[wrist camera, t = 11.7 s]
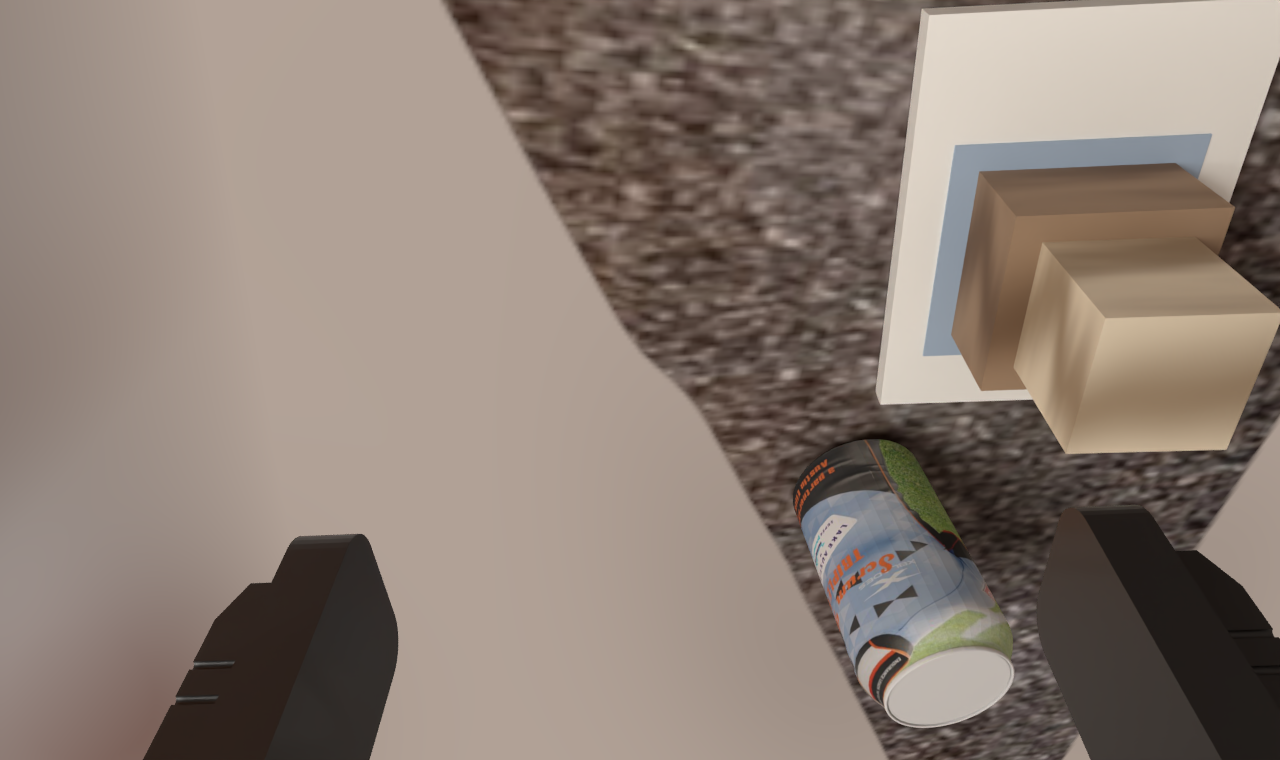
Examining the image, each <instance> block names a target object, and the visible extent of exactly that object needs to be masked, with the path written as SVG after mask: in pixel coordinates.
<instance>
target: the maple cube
mask: <svg viewBox="0 0 1280 760" xmlns="http://www.w3.org/2000/svg"><path fill="white" fill-rule="evenodd" d="M1279 324H1280V309H1279V308H1278V307H1277V306H1276V305H1275V304H1274V303H1272V302H1271V301H1270V300H1269V299H1268V298H1267V297H1265V296H1264V295H1263V294H1262V293H1261V292H1260V291H1258V290H1257V289H1256V288H1255V287H1254V286H1252V285H1251V284H1250V283H1249V282H1248V281H1247V280H1245V279H1244V278H1243V277H1242V276H1241V275H1240V274H1238V273H1237V272H1236V271H1235V270H1234V269H1233V268H1231V267H1230V266H1229V265H1228V264H1227V263H1225V262H1224V261H1223V260H1222V259H1221V258H1220V257H1218V256H1217V255H1216V254H1215V253H1214V252H1213V251H1211V250H1210V249H1209V248H1208V247H1207V246H1206V245H1204V244H1203V243H1202V242H1201V241H1200V240H1199V239H1197V238H1196V237H1181V238H1152V239H1124V240H1095V241H1066V242H1042V246H1041V251H1040V255H1039V259H1038V263H1037V268H1036V272H1035V276H1034V281H1033V285H1032V289H1031V294H1030V298H1029V302H1028V307H1027V311H1026V315H1025V319H1024V324H1023V328H1022V332H1021V337H1020V341H1019V345H1018V350H1017V354H1016V358H1015V363H1014V369H1015V371H1016V372H1017V374H1018V375H1019V377H1020V379H1021V380H1022V382H1023V384H1024V385H1025V387H1026V389H1027V390H1028V392H1029V394H1030V395H1031V397H1032V399H1033V400H1034V402H1035V403H1036V405H1037V407H1038V408H1039V410H1040V412H1041V413H1042V415H1043V417H1044V418H1045V420H1046V422H1047V423H1048V425H1049V427H1050V428H1051V430H1052V431H1053V433H1054V435H1055V436H1056V438H1057V440H1058V441H1059V443H1060V445H1061V446H1062V448H1063V450H1064V451H1065V453H1066V454H1077V453H1116V452H1154V451H1192V450H1227V447H1228V445H1229V443H1230V440H1231V438H1232V435H1233V433H1234V431H1235V428H1236V426H1237V424H1238V421H1239V419H1240V416H1241V414H1242V412H1243V409H1244V407H1245V405H1246V402H1247V400H1248V398H1249V395H1250V393H1251V390H1252V388H1253V386H1254V383H1255V381H1256V379H1257V376H1258V374H1259V371H1260V369H1261V367H1262V364H1263V362H1264V360H1265V357H1266V355H1267V353H1268V350H1269V348H1270V345H1271V343H1272V341H1273V338H1274V336H1275V334H1276V331H1277V329H1278V326H1279Z"/></svg>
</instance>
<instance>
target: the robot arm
mask: <svg viewBox="0 0 1280 760" xmlns="http://www.w3.org/2000/svg"><path fill="white" fill-rule="evenodd" d="M1036 613H1037V626H1038V632H1039V637H1040V641H1041V644H1042V648H1043V651H1044V653H1045V656H1046V658H1047V660H1048V663H1049V665H1050V667H1051V669H1052V672H1053V674H1054V676H1055V679H1056V681H1057V683H1058V686H1059V688H1060V690H1061V692H1062V695H1063V697H1064V699H1065V702H1066V704H1067V706H1068V709H1069V711H1070V713H1071V715H1072V718H1073V720H1074V722H1075V725H1076V727H1077V729H1078V731H1079V734H1080V736H1081V738H1082V741H1083V743H1084V745H1085V748H1086V750H1087V752H1088V754H1089V757H1090V759H1091V760H1280V638H1278V637H1277V638H1275V637H1274V636H1273V633H1272V630H1273V629H1272V627H1271V626H1270V624H1269V623H1268V621H1267V620H1266V619H1265V617H1264V616H1263V614H1262V613H1261V612H1260V611H1259V609H1258V607H1257V606H1256V605H1255V603H1254V602H1253V600H1252V599H1251V598H1250V596H1249V595H1248V593H1247V592H1246V591H1245V589H1244V588H1243V586H1241V585H1240V584H1239V583H1238V582H1236V581H1235V580H1234V579H1233V578H1231V577H1230V576H1229V575H1227V574H1226V573H1225V572H1223V571H1222V570H1221V569H1220V568H1218V567H1217V566H1216V565H1215V564H1214V563H1212V562H1211V561H1210V560H1208V559H1207V558H1206V557H1205V556H1203V555H1202V554H1201V553H1199V552H1198V551H1197V550H1193V551H1175V550H1174V548H1173V547H1172V545H1171V544H1170V542H1169V541H1168V539H1167V538H1166V536H1165V535H1164V533H1163V532H1162V530H1161V529H1160V527H1159V526H1158V524H1157V523H1156V521H1155V520H1154V518H1153V517H1152V515H1151V514H1150V513H1149V512H1148V511H1147V510H1146V509H1145V508H1143V507H1142V506H1139V505H1120V506H1095V507H1071V508H1067V509H1065V510H1064V511H1063V513H1062V514H1061V516H1060V519H1059V522H1058V525H1057V529H1056V533H1055V536H1054V540H1053V544H1052V547H1051V551H1050V554H1049V558H1048V562H1047V565H1046V569H1045V572H1044V576H1043V580H1042V583H1041V587H1040V590H1039V594H1038V599H1037V612H1036ZM397 655H398V629H397V622H396V618H395V614H394V612H393V609H392V606H391V603H390V600H389V597H388V594H387V592H386V589H385V586H384V583H383V580H382V577H381V574H380V571H379V568H378V565H377V562H376V560H375V556H374V554H373V551H372V548H371V545H370V543H369V541H368V539H367V538H366V537H365V536H364V535H363V534H347V535H346V534H345V535H321V536H299V537H297V538H295V539H294V540H293V541H292V542H291V544H290V545H289V547H288V549H287V551H286V553H285V555H284V557H283V559H282V561H281V564H280V565H279V568H278V570H277V572H276V574H275V576H274V579H273V580H272V583H255V584H254V583H253V584H252V583H251V584H250V585H249V586H248V587H247V588H246V589H245V590H244V591H243V592H242V593H241V594H240V595H239V596H238V597H237V598H236V599H235V600H234V601H233V602H232V603H231V604H230V605H229V606H228V607H227V608H226V609H225V610H224V611H223V612H222V613H221V614H220V615H219V616H218V617H217V618H216V619H215V621H214V623H213V624H212V626H211V628H210V630H209V633H208V634H207V636H206V638H205V640H204V642H203V644H202V646H201V648H200V650H199V652H198V654H197V656H196V658H195V659H194V668H193V670H189V671H188V673H187V675H186V677H185V679H184V681H183V683H182V685H181V687H180V689H179V691H178V693H177V695H176V703H175V705H171V706H170V708H169V710H168V712H167V714H166V716H165V718H164V720H163V722H162V724H161V726H160V728H159V730H158V732H157V734H156V735H155V737H154V739H153V741H152V743H151V745H150V747H149V749H148V751H147V753H146V755H145V757H144V759H143V760H369V759H370V756H371V752H372V749H373V745H374V742H375V738H376V735H377V732H378V728H379V724H380V721H381V718H382V714H383V710H384V707H385V704H386V700H387V696H388V693H389V690H390V686H391V683H392V679H393V676H394V672H395V668H396V663H397Z"/></svg>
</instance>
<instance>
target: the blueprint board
mask: <svg viewBox="0 0 1280 760" xmlns="http://www.w3.org/2000/svg"><path fill="white" fill-rule="evenodd" d="M1279 58H1280V0H1079V1H1060V2H1040V3H1021V4H1001V5H982V6H963V7H943V8H924V9H922V11H921V20H920V28H919V36H918V44H917V53H916V61H915V69H914V78H913V86H912V94H911V102H910V111H909V119H908V127H907V135H906V144H905V152H904V160H903V169H902V177H901V185H900V193H899V202H898V210H897V218H896V227H895V235H894V243H893V251H892V260H891V268H890V276H889V284H888V293H887V301H886V309H885V318H884V326H883V334H882V342H881V351H880V359H879V367H878V376H877V384H876V394H877V397H878V399H879V402H880V405H882V404H912V403H942V402H971V401H1001V400H1031V399H1032V397H1031V395H1030V394H1029V392H1028V390H1027V389H1025V390H995V391H981V390H980V388H979V387H978V385H977V383H976V381H975V379H974V377H973V375H972V373H971V371H970V370H969V368H968V366H967V364H966V362H965V360H964V358H963V356H962V355H961V353H960V351H959V349H958V347H957V345H956V343H955V341H954V339H953V338H952V336H951V333H952V327H953V321H954V315H955V309H956V304H957V298H958V292H959V286H960V280H961V275H962V269H963V263H964V257H965V251H966V245H967V240H968V234H969V228H970V222H971V216H972V211H973V205H974V199H975V193H976V187H977V182H978V176H979V171H1000V170H1023V169H1046V168H1068V167H1091V166H1114V165H1137V164H1159V163H1176V164H1178V165H1179V166H1180V167H1182V168H1183V169H1184V170H1186V171H1187V172H1188V173H1190V174H1191V175H1192V176H1194V177H1195V178H1196V179H1198V180H1199V181H1200V182H1202V183H1203V184H1205V185H1206V186H1207V187H1209V188H1210V189H1211V190H1213V191H1214V192H1215V193H1217V194H1218V195H1219V196H1221V197H1222V198H1223V199H1225V200H1226V201H1227V202H1230V199H1231V197H1232V194H1233V191H1234V188H1235V185H1236V182H1237V179H1238V176H1239V174H1240V171H1241V168H1242V165H1243V162H1244V159H1245V156H1246V153H1247V150H1248V148H1249V145H1250V142H1251V139H1252V136H1253V133H1254V130H1255V127H1256V124H1257V122H1258V119H1259V116H1260V113H1261V110H1262V107H1263V104H1264V101H1265V98H1266V96H1267V93H1268V90H1269V87H1270V84H1271V81H1272V78H1273V75H1274V72H1275V70H1276V67H1277V64H1278V61H1279Z"/></svg>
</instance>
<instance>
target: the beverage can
mask: <svg viewBox="0 0 1280 760" xmlns="http://www.w3.org/2000/svg"><path fill="white" fill-rule="evenodd" d="M793 505H794V509H795V512H796V515H797V518H798V520H799V523H800V526H801V528H802V531H803V534H804V536H805V539H806V542H807V544H808V547H809V550H810V552H811V555H812V558H813V561H814V563H815V566H816V569H817V571H818V574H819V577H820V579H821V582H822V585H823V587H824V590H825V593H826V595H827V598H828V601H829V603H830V606H831V609H832V611H833V614H834V617H835V620H836V622H837V625H838V628H839V630H840V633H841V636H842V638H843V641H844V644H845V646H846V649H847V652H848V654H849V657H850V660H851V662H852V665H853V668H854V671H855V673H856V676H857V679H858V681H859V683H860V685H861V686H862V688H863V690H864V691H865V692H866V693H867V694H868V695H869V696H870V697H871V698H872V699H873V700H874V701H876V702H877V703H879V704H880V705H882V706H883V707H885V710H886V712H887V714H888V715H889V716H890V717H891V718H892V719H893V720H894V721H896V722H898V723H900V724H903V725H906V726H910V727H918V728H929V727H939V726H945V725H949V724H953V723H957V722H960V721H962V720H965V719H968V718H970V717H972V716H975V715H977V714H979V713H981V712H982V711H984V710H986V709H987V708H989V707H990V706H992V705H993V704H995V703H996V702H997V701H998V700H999V699H1000V698H1001V697H1002V696H1003V695H1004V694H1005V693H1006V692H1007V691H1008V689H1009V687H1010V686H1011V684H1012V681H1013V678H1014V668H1013V665H1012V662H1011V656H1012V647H1013V637H1012V633H1011V630H1010V627H1009V624H1008V622H1007V621H1006V619H1005V617H1004V615H1003V613H1002V612H1001V610H1000V608H999V606H998V604H997V603H996V601H995V599H994V597H993V595H992V594H991V592H990V590H989V588H988V587H987V585H986V583H985V581H984V579H983V578H982V576H981V574H980V572H979V570H978V569H977V567H976V565H975V563H974V561H973V560H972V558H971V556H970V554H969V552H968V551H967V549H966V547H965V545H964V543H963V542H962V540H961V538H960V536H959V535H958V533H957V531H956V529H955V527H954V526H953V524H952V522H951V520H950V518H949V517H948V515H947V513H946V511H945V509H944V508H943V506H942V504H941V502H940V500H939V499H938V497H937V495H936V493H935V491H934V490H933V488H932V486H931V484H930V483H929V481H928V479H927V477H926V475H925V474H924V472H923V470H922V468H921V466H920V465H919V463H918V461H917V459H916V458H915V456H914V455H913V454H912V453H911V452H910V451H909V450H908V449H907V448H905V447H903V446H902V445H900V444H898V443H895V442H892V441H888V440H881V439H865V440H858V441H853V442H850V443H846V444H843V445H840V446H838V447H836V448H833V449H831V450H830V451H828V452H826V453H824V454H823V455H821V456H820V457H819V458H817V459H816V460H814V461H813V462H812V463H811V464H810V465H809V466H808V467H807V468H806V469H805V471H804V472H803V473H802V475H801V476H800V478H799V480H798V482H797V484H796V486H795V489H794V493H793Z"/></svg>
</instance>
